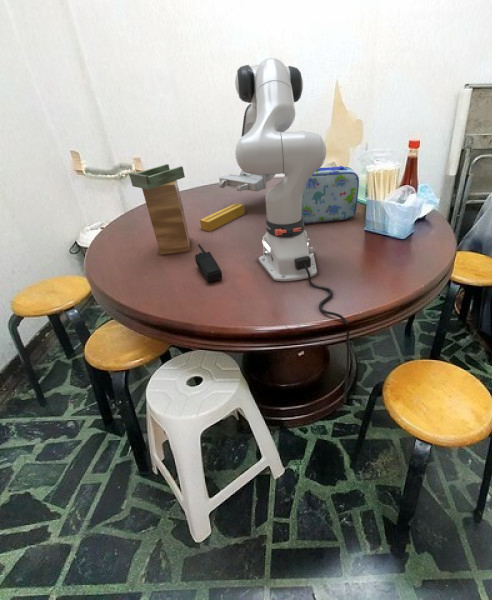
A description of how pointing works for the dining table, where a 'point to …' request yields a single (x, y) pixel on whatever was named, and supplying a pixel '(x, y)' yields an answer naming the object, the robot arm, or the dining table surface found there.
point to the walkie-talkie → (208, 265)
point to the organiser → (164, 206)
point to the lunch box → (330, 195)
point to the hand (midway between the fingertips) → (229, 187)
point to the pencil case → (222, 217)
